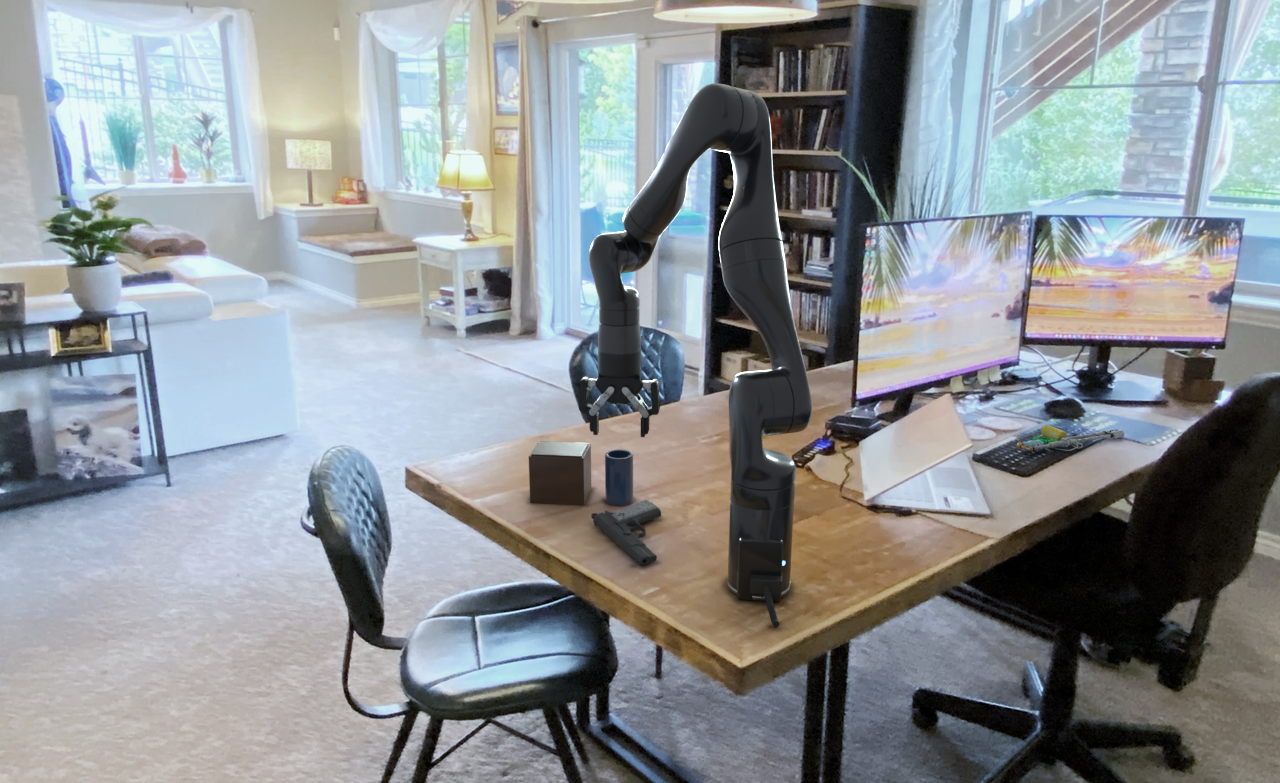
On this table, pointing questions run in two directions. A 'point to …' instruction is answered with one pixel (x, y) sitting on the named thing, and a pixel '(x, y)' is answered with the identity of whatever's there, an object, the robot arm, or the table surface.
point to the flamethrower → (1064, 439)
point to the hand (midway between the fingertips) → (619, 434)
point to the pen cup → (619, 477)
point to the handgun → (629, 528)
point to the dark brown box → (560, 472)
